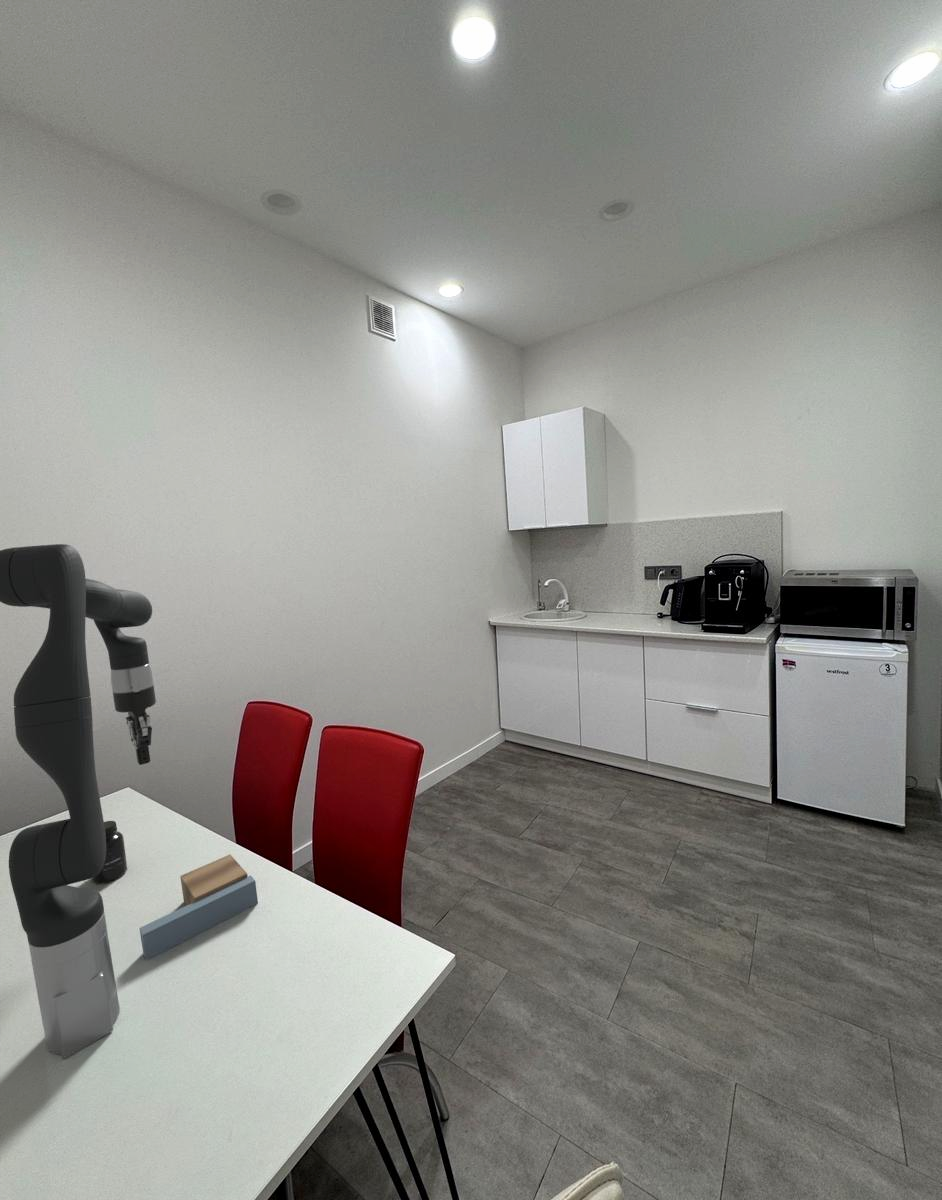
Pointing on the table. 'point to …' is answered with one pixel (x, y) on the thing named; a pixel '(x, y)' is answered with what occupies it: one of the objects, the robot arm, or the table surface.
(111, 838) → the supplement bottle
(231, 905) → the slate board
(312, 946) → the table surface
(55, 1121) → the table surface
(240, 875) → the walnut block
